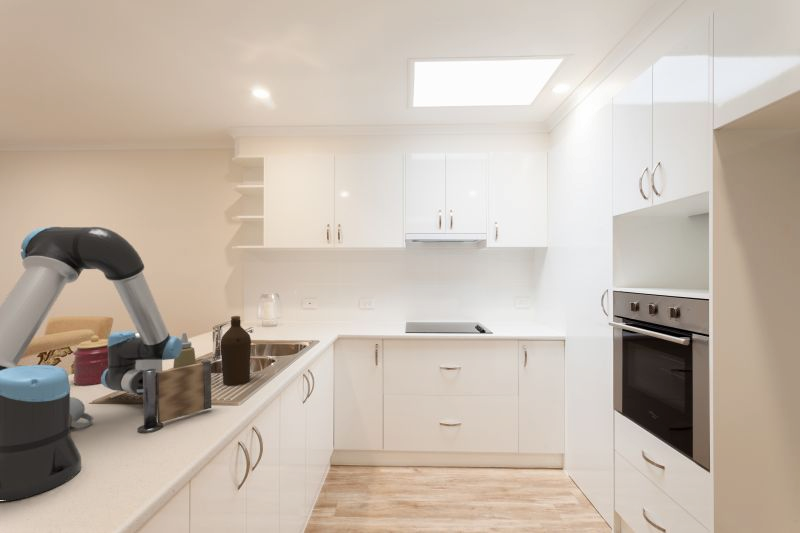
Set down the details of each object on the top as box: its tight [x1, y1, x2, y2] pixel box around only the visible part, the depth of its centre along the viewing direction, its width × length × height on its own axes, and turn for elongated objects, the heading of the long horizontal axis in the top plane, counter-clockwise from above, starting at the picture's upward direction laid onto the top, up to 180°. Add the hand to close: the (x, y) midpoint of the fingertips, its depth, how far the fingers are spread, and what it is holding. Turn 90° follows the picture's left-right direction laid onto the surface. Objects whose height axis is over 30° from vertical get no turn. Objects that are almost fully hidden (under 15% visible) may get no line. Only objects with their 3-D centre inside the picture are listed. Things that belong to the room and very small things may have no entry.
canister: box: [72, 334, 108, 386], centre depth 146 cm, size 13×13×18 cm
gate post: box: [136, 369, 164, 434], centre depth 103 cm, size 6×6×16 cm
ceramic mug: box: [70, 396, 94, 429], centre depth 104 cm, size 11×8×8 cm
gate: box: [157, 359, 212, 423], centre depth 110 cm, size 14×2×14 cm, turn 141°
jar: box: [135, 332, 163, 373], centre depth 148 cm, size 10×10×18 cm
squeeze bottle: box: [172, 332, 197, 369], centre depth 147 cm, size 8×8×18 cm
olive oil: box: [220, 315, 252, 387], centre depth 143 cm, size 11×11×25 cm
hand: (194, 390), depth 114 cm, fingers closed
